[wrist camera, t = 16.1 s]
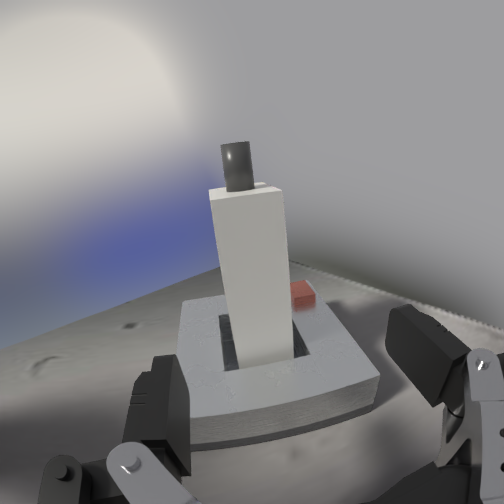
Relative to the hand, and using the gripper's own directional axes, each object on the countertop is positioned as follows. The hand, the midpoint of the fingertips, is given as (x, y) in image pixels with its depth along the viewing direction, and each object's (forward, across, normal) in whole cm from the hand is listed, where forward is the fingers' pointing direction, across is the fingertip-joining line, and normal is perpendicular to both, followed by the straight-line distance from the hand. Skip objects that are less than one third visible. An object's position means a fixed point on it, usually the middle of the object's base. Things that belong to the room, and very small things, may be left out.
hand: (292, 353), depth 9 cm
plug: (+10, 0, +10) cm, 14 cm away
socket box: (+11, 0, +10) cm, 15 cm away
